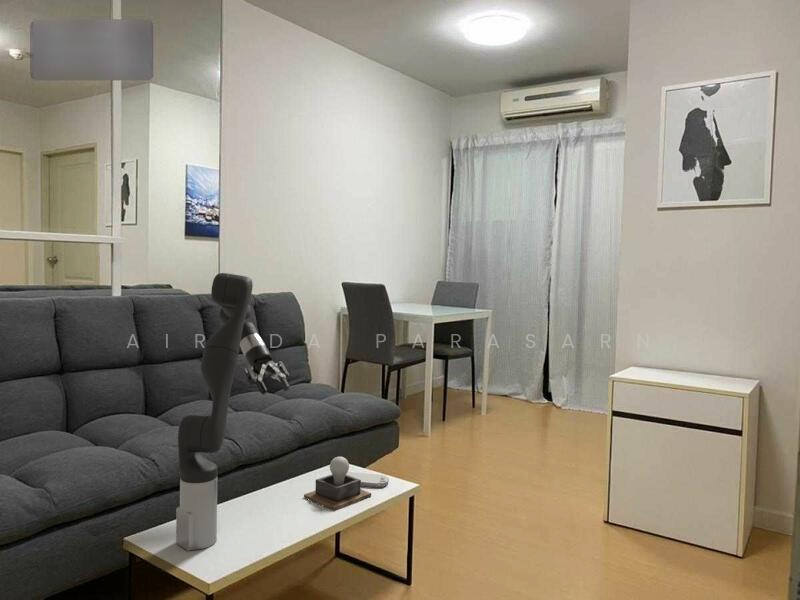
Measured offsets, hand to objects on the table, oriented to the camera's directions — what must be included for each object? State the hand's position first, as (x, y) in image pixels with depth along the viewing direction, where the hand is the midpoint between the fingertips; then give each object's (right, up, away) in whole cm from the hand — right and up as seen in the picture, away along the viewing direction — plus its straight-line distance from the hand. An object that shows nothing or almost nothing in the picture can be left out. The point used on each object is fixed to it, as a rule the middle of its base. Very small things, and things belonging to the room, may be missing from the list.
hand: (276, 391), depth 192 cm
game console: (+26, -33, +14) cm, 45 cm away
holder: (+19, -33, 0) cm, 39 cm away
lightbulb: (+20, -32, +1) cm, 37 cm away
